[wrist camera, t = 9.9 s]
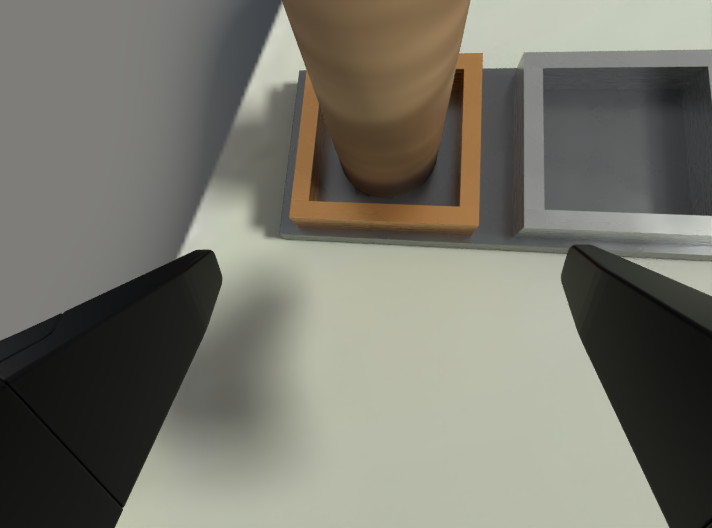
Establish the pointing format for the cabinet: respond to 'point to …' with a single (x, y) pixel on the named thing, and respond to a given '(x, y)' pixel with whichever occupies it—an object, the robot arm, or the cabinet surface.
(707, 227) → the tray
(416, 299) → the cabinet surface
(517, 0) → the cabinet surface
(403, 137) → the post
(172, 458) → the cabinet surface
